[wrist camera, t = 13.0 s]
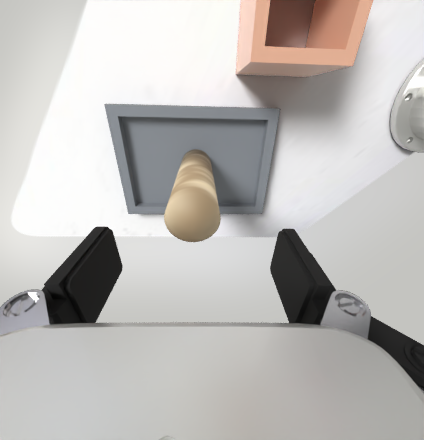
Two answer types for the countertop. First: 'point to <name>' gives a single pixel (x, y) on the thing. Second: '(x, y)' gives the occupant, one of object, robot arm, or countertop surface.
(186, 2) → the countertop surface
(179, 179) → the dowel
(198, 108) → the tray
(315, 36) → the deep cup
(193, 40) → the countertop surface
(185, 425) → the robot arm
